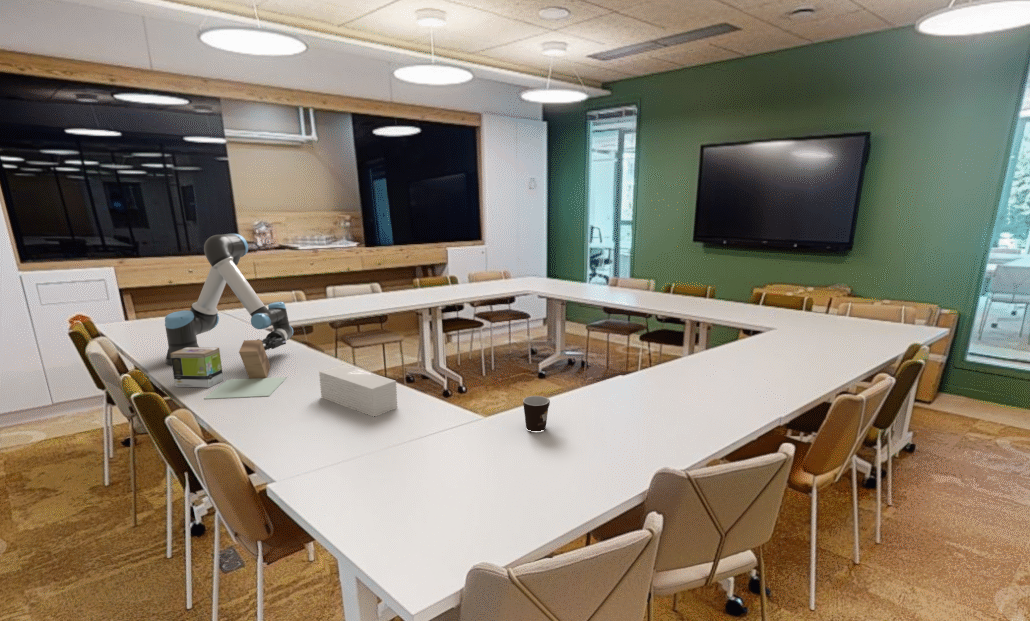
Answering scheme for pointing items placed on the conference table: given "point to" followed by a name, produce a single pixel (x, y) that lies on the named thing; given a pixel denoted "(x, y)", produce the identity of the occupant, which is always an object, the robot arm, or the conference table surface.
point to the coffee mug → (536, 412)
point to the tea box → (197, 367)
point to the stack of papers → (358, 390)
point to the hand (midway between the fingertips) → (259, 350)
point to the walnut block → (254, 359)
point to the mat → (246, 388)
